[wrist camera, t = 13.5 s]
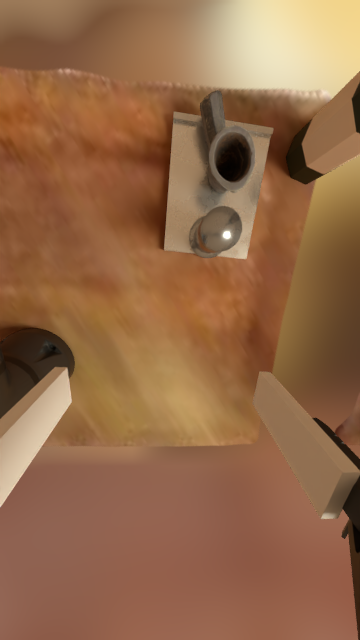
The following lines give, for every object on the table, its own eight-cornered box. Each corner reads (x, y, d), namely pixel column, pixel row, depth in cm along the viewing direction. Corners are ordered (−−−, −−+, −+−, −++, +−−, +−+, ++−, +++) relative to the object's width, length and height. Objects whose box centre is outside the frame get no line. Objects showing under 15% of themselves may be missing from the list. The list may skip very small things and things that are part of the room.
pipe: (224, 103, 28) (242, 53, 21) (240, 197, 33) (260, 182, 26) (186, 119, 29) (190, 75, 22) (207, 209, 34) (217, 198, 26)
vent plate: (163, 253, 36) (160, 251, 26) (173, 119, 30) (174, 43, 20) (243, 262, 38) (271, 263, 27) (268, 135, 31) (317, 71, 21)
